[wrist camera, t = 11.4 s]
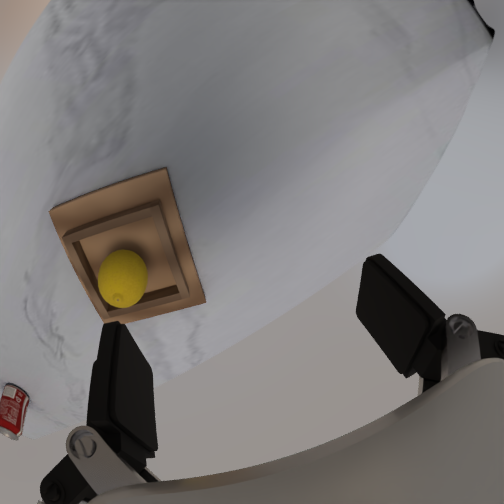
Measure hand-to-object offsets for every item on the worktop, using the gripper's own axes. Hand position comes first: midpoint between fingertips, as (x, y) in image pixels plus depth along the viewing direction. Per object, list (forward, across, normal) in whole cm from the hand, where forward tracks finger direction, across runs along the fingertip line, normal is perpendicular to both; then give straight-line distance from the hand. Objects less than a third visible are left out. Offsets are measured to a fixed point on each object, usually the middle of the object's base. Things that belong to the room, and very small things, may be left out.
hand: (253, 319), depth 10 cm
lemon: (+22, +10, +8) cm, 25 cm away
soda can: (+22, +53, +33) cm, 66 cm away
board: (+23, +11, +8) cm, 27 cm away
